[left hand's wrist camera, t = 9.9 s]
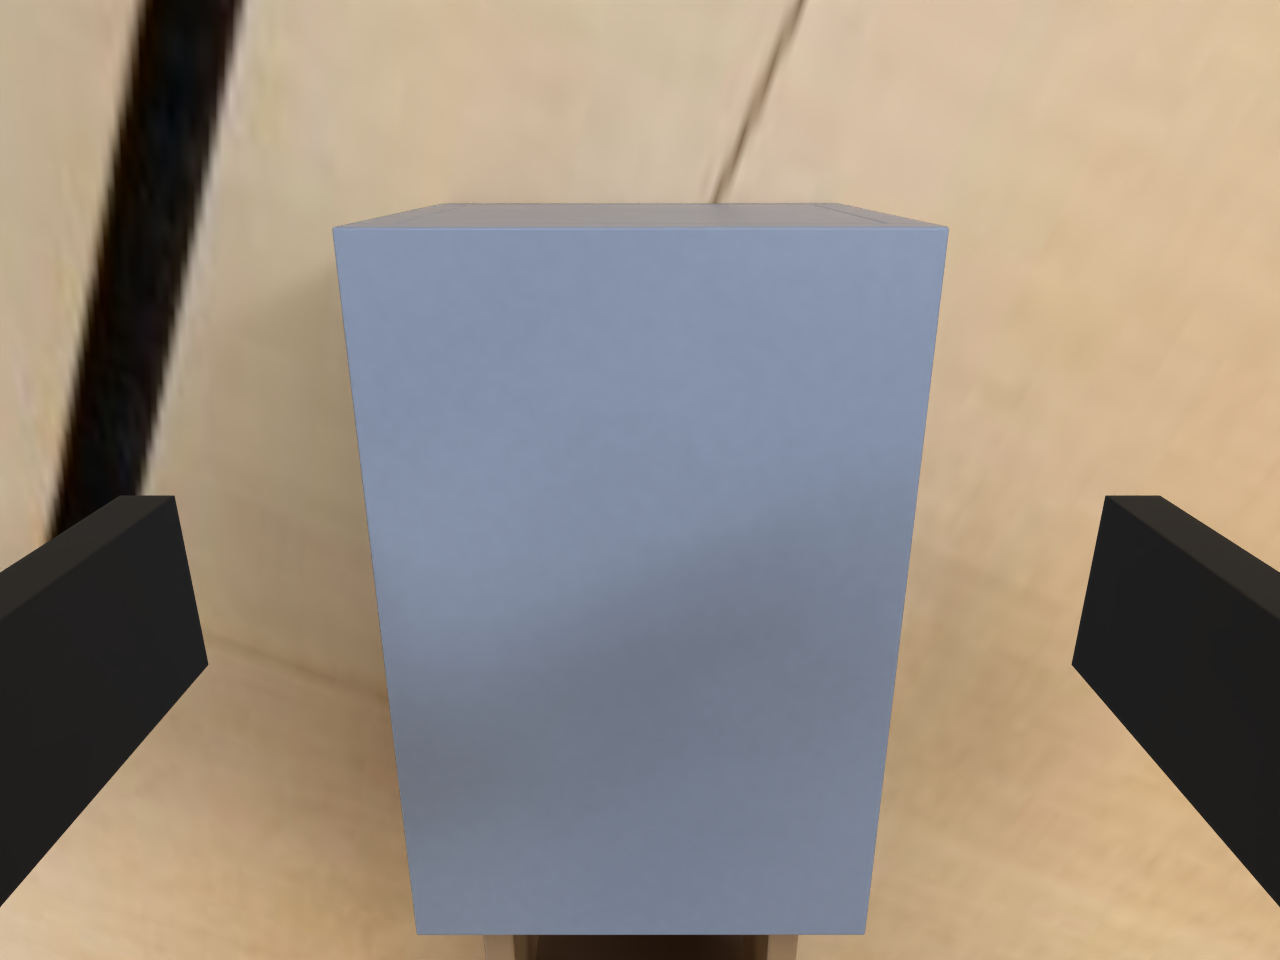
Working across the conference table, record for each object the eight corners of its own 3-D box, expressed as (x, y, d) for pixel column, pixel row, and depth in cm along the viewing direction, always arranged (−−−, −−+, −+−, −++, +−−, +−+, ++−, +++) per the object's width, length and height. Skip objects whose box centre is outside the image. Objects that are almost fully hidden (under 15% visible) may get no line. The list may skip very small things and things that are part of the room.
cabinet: (800, 714, 30) (864, 935, 21) (480, 714, 30) (416, 935, 21) (839, 203, 24) (950, 226, 15) (440, 203, 24) (330, 227, 15)
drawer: (766, 1030, 34) (798, 1248, 27) (514, 1030, 34) (483, 1248, 27) (801, 544, 26) (856, 675, 20) (480, 544, 26) (425, 675, 20)
